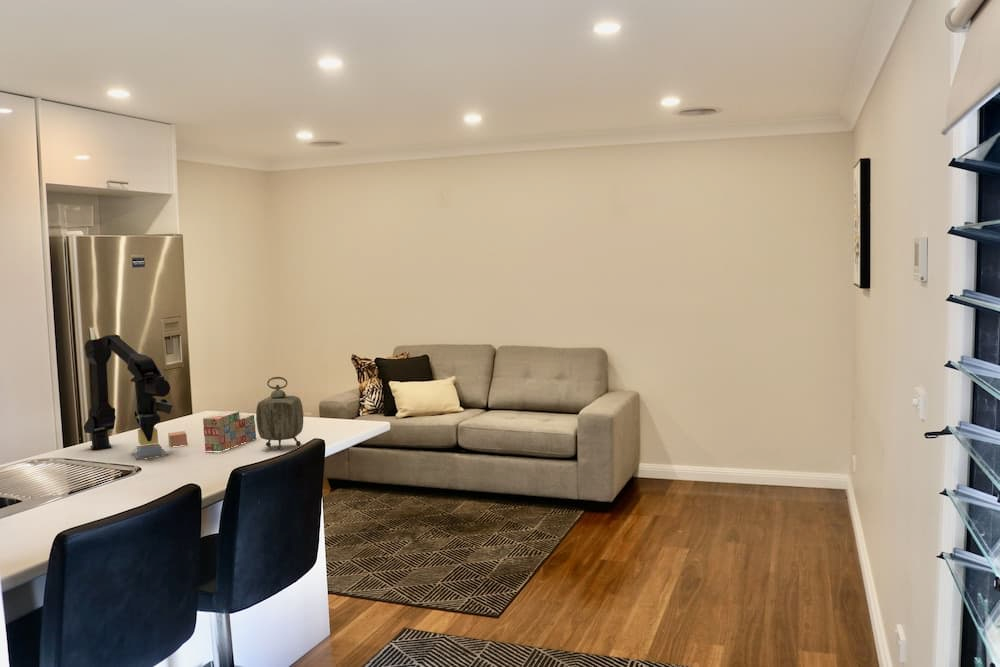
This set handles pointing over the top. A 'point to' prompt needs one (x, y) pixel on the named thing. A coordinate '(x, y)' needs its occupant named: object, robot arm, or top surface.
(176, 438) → the terracotta brick
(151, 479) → the top surface
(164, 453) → the baseplate
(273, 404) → the tabletop clock
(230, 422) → the stack of blocks
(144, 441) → the mustard brick
